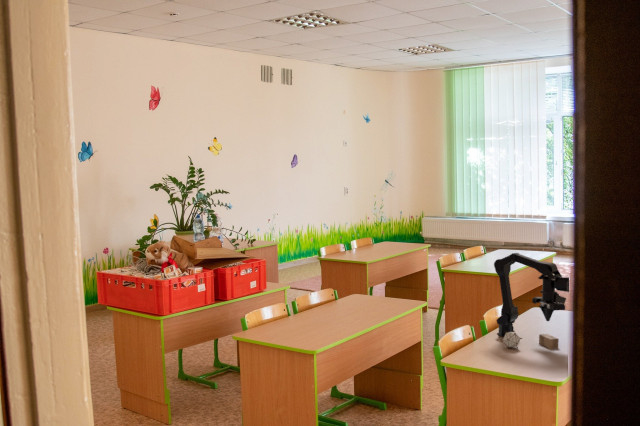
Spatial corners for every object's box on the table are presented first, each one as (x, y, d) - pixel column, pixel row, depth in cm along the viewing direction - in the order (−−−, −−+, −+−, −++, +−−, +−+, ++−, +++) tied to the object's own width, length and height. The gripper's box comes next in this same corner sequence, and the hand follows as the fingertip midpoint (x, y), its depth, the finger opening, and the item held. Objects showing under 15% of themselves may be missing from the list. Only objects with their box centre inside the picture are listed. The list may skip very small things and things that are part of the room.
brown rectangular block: (538, 343, 287) (549, 348, 279) (539, 334, 287) (550, 339, 278) (547, 342, 288) (558, 348, 280) (547, 333, 288) (558, 338, 279)
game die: (514, 356, 278) (523, 343, 272) (497, 349, 279) (505, 335, 273) (516, 343, 285) (525, 330, 278) (499, 336, 286) (507, 322, 280)
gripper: (575, 292, 276) (574, 324, 277) (552, 285, 294) (551, 316, 295) (554, 292, 273) (553, 326, 274) (532, 286, 292) (531, 317, 292)
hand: (547, 321), depth 284 cm, fingers closed
